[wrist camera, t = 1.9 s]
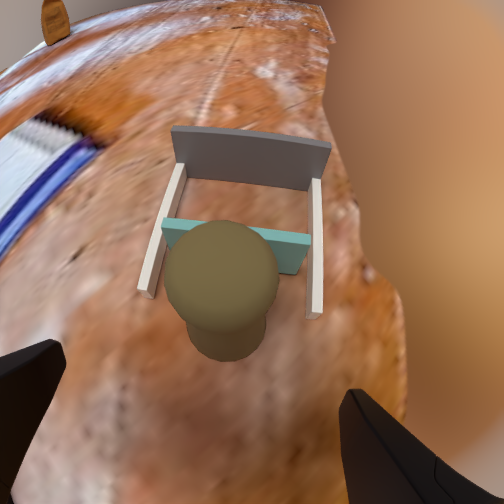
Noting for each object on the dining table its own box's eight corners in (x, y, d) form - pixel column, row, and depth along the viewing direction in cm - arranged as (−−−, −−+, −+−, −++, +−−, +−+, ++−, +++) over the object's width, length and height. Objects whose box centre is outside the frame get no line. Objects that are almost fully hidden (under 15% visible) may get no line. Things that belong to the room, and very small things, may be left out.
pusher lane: (315, 319, 22) (341, 295, 16) (144, 297, 22) (118, 266, 16) (315, 186, 28) (330, 142, 22) (181, 171, 28) (173, 125, 22)
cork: (277, 303, 22) (313, 229, 12) (246, 374, 19) (260, 361, 10) (207, 273, 23) (191, 182, 13) (173, 340, 20) (119, 292, 10)
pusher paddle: (295, 274, 23) (310, 245, 18) (173, 259, 23) (160, 227, 18) (296, 265, 23) (310, 234, 19) (175, 250, 23) (163, 217, 19)
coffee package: (71, 30, 60) (61, -17, 41) (73, 35, 56) (62, -17, 36) (46, 42, 57) (35, -5, 38) (46, 48, 53) (32, -3, 33)
